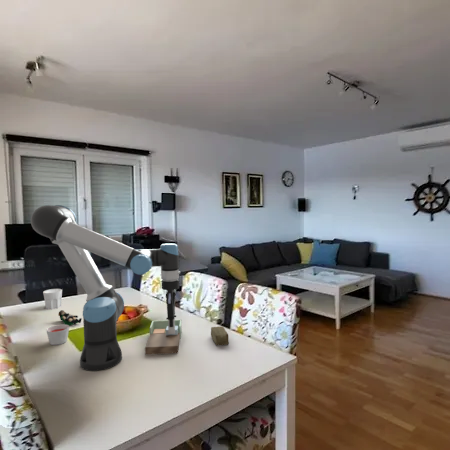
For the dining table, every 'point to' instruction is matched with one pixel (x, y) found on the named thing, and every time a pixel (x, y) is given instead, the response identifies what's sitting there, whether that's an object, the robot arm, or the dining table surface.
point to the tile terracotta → (158, 331)
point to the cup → (53, 298)
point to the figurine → (68, 318)
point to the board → (162, 344)
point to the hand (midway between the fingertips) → (171, 333)
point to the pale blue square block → (175, 331)
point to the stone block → (219, 336)
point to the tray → (165, 325)
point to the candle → (57, 334)
